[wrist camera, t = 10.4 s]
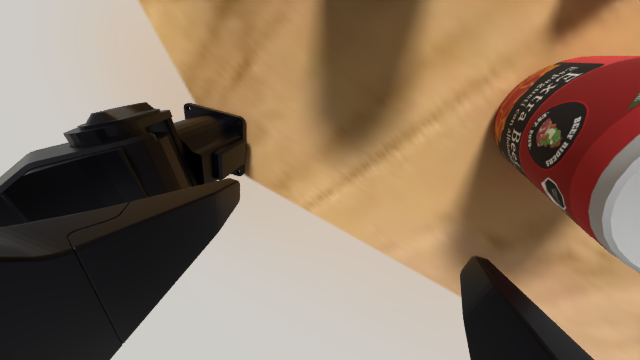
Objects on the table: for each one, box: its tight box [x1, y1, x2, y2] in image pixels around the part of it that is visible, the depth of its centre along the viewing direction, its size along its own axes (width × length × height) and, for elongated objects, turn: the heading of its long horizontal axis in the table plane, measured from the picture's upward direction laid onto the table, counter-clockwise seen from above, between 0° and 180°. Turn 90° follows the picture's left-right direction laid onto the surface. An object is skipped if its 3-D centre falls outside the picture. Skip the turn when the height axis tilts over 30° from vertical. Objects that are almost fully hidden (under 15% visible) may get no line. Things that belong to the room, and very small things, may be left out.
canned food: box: [495, 56, 640, 273], centre depth 11 cm, size 8×8×11 cm
